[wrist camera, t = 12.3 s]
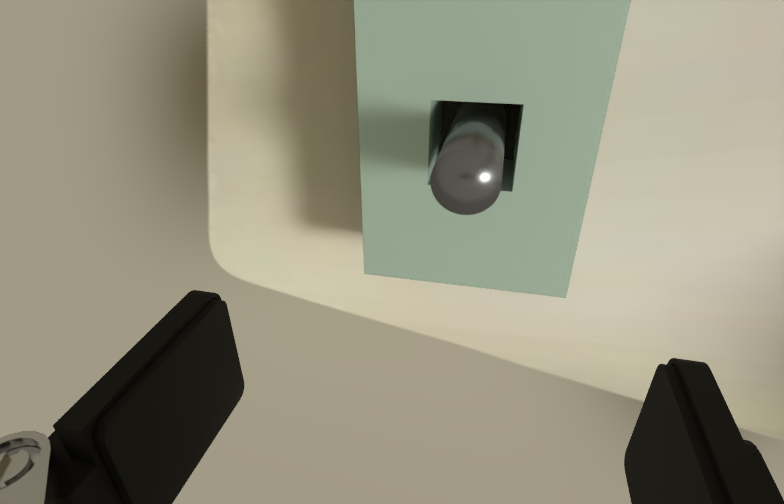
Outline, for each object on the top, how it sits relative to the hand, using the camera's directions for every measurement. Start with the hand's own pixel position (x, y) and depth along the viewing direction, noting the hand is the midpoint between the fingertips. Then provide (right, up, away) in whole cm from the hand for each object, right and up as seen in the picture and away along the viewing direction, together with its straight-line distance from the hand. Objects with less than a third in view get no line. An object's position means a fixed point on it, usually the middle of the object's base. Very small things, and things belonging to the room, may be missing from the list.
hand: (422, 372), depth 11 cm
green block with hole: (+5, +10, +18) cm, 21 cm away
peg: (+5, +10, +18) cm, 21 cm away
